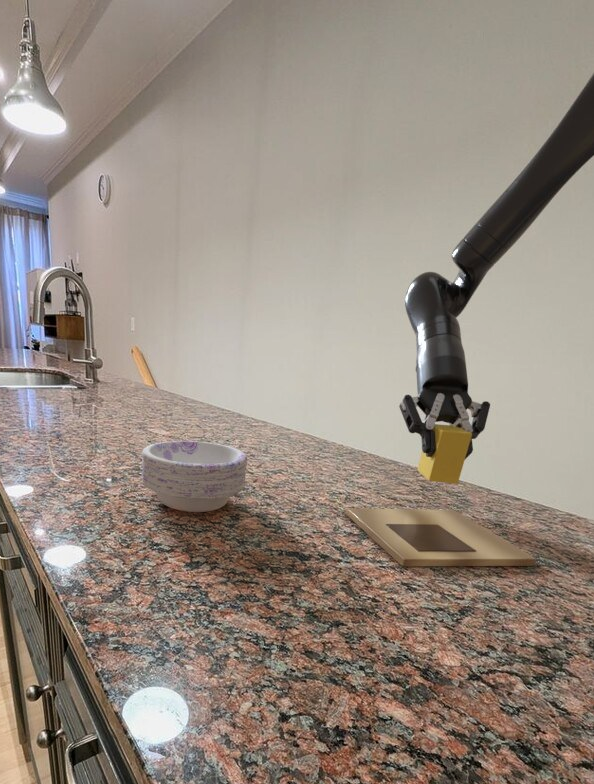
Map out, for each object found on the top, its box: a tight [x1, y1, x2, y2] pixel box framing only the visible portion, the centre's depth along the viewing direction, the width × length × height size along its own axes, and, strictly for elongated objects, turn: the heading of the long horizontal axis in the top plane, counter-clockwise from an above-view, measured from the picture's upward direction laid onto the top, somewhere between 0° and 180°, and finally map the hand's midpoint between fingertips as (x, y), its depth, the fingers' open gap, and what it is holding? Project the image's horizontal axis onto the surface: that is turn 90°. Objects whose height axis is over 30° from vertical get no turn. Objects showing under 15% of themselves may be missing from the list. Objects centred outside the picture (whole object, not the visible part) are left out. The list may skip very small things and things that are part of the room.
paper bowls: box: [141, 440, 248, 513], centre depth 66 cm, size 15×15×8 cm
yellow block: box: [417, 423, 472, 485], centre depth 71 cm, size 4×6×8 cm
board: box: [345, 507, 538, 567], centre depth 61 cm, size 18×16×1 cm
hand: (447, 455), depth 70 cm, fingers closed on yellow block, 4 cm apart
